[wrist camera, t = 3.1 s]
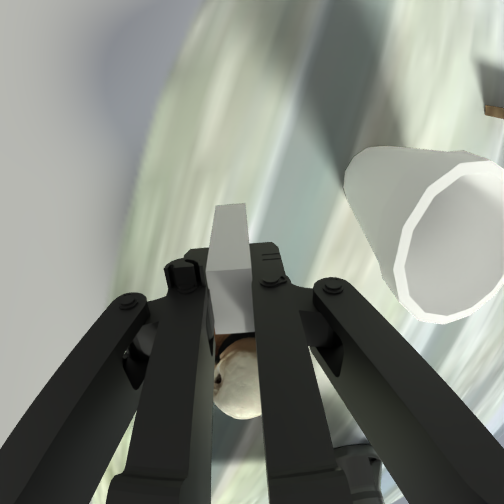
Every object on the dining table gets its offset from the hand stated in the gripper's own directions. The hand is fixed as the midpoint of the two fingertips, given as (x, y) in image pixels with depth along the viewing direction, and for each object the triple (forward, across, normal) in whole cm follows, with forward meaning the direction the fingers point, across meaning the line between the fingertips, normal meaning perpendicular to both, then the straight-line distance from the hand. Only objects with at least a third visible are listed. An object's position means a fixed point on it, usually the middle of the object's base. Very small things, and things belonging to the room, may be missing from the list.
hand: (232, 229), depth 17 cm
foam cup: (+10, -12, 0) cm, 15 cm away
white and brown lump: (+9, +1, +19) cm, 21 cm away
